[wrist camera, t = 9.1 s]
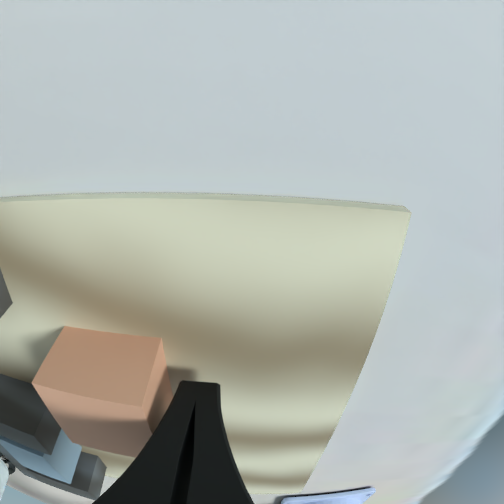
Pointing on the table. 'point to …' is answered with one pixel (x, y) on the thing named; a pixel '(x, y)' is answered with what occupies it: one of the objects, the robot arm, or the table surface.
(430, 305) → the table surface
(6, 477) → the coffee press
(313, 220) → the comb board
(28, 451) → the slate-blue plug
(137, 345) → the peach square block
